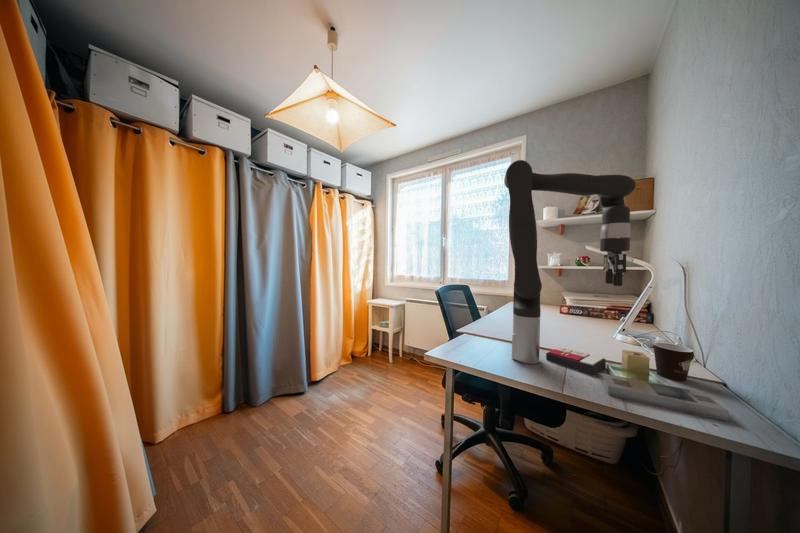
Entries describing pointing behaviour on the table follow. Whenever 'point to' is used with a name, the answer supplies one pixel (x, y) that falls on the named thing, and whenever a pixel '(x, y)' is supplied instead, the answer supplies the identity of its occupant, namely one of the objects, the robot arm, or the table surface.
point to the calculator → (577, 360)
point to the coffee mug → (672, 361)
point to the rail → (649, 394)
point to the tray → (617, 372)
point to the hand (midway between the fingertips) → (613, 284)
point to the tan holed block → (635, 365)
